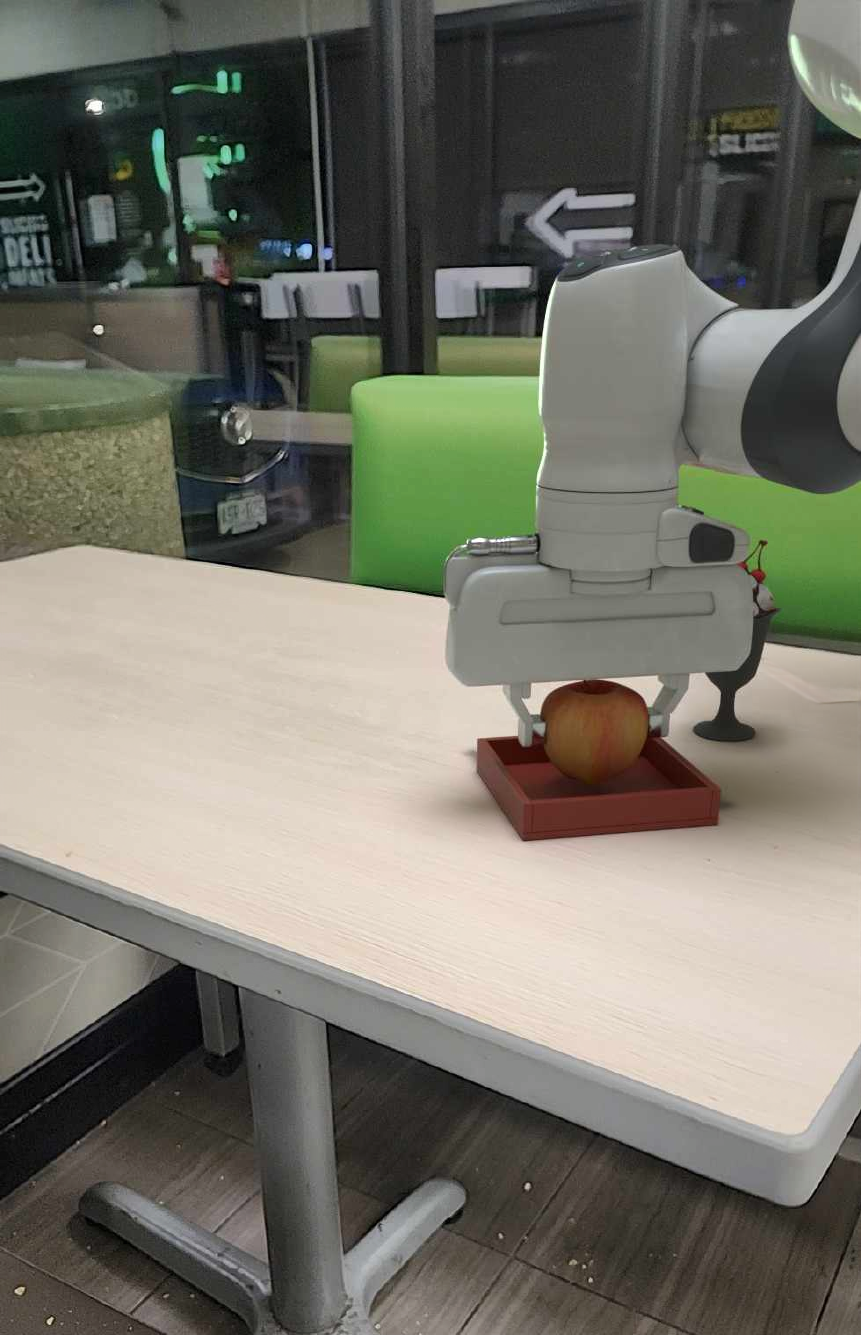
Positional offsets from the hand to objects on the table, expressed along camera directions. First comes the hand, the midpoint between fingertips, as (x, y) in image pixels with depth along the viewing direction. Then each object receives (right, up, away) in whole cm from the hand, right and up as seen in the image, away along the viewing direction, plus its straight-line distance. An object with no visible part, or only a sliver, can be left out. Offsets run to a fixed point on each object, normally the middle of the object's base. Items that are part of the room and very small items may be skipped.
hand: (593, 739), depth 79 cm
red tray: (0, -4, +2) cm, 4 cm away
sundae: (+13, +2, +15) cm, 19 cm away
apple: (0, -3, +1) cm, 3 cm away
